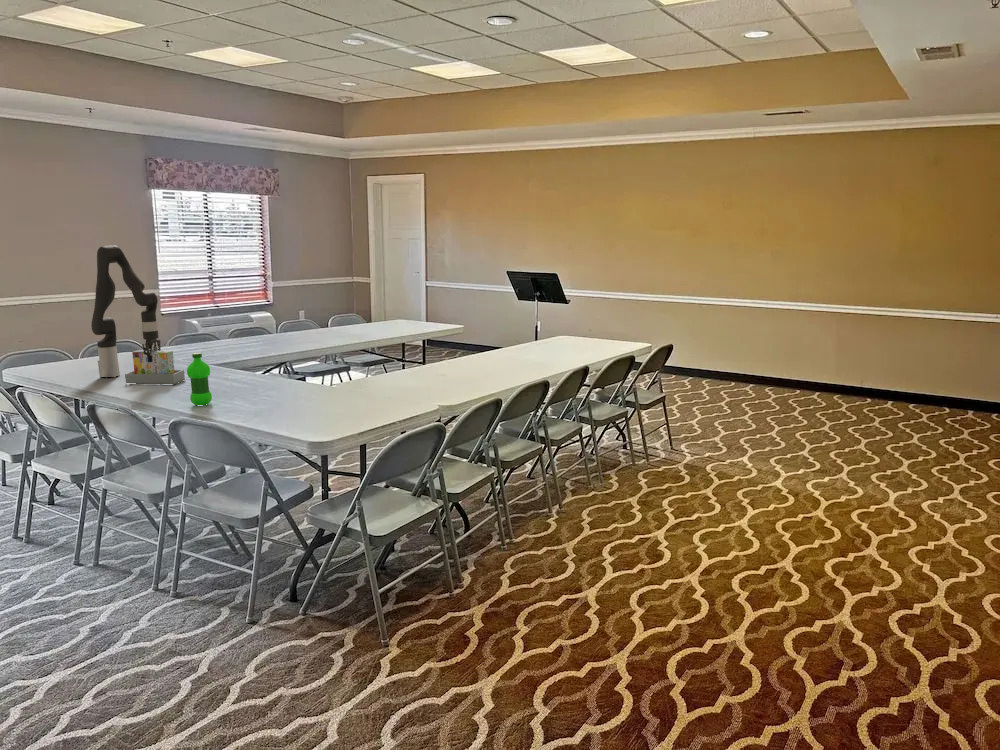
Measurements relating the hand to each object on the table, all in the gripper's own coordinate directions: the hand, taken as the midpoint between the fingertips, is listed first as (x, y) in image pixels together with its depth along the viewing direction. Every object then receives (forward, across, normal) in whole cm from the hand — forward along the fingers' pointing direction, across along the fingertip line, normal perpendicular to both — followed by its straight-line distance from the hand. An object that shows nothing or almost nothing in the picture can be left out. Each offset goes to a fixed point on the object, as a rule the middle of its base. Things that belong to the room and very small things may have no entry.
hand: (153, 360), depth 396 cm
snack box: (+10, 0, 0) cm, 10 cm away
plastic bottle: (+12, -45, -48) cm, 67 cm away
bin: (+12, 0, 0) cm, 12 cm away
